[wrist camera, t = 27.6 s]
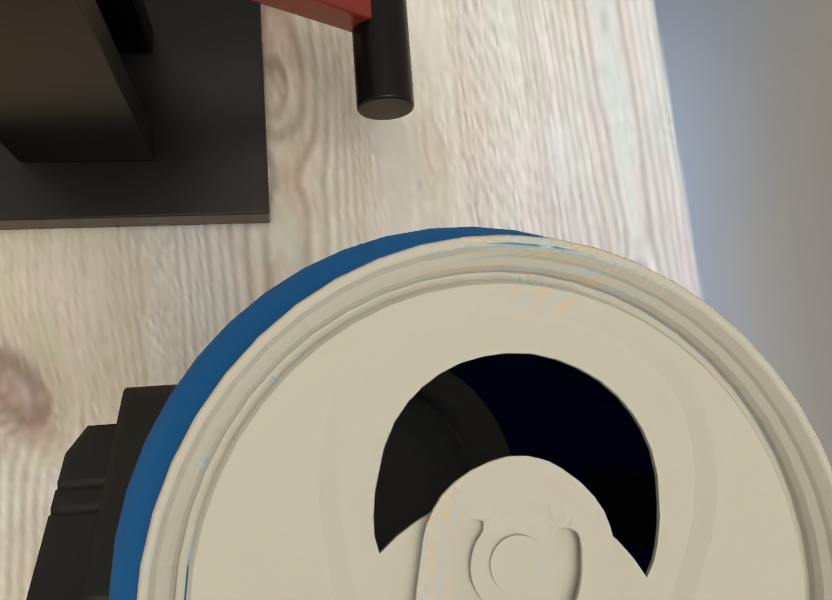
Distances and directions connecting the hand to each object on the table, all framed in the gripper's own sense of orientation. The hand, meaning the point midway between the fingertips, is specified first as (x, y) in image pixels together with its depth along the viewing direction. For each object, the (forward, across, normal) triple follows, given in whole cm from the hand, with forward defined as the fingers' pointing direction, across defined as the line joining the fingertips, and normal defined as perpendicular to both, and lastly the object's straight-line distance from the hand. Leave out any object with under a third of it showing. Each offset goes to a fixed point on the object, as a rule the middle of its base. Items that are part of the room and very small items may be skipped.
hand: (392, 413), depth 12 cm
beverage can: (+3, 0, +5) cm, 6 cm away
